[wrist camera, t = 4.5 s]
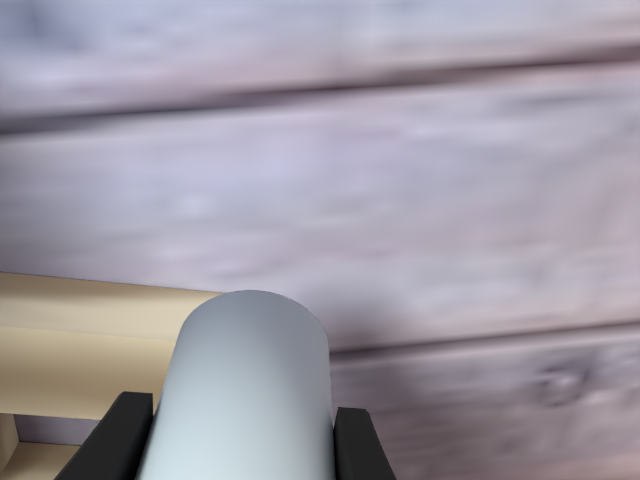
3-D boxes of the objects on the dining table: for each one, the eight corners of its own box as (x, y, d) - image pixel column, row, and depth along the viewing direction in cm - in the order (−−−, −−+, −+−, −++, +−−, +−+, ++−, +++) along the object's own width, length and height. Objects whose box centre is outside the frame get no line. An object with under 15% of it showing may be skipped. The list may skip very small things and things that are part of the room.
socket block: (-172, 255, 20) (-303, 347, 16) (238, 294, 21) (221, 388, 17) (-76, 505, 28) (-147, 612, 23) (223, 522, 29) (208, 627, 25)
